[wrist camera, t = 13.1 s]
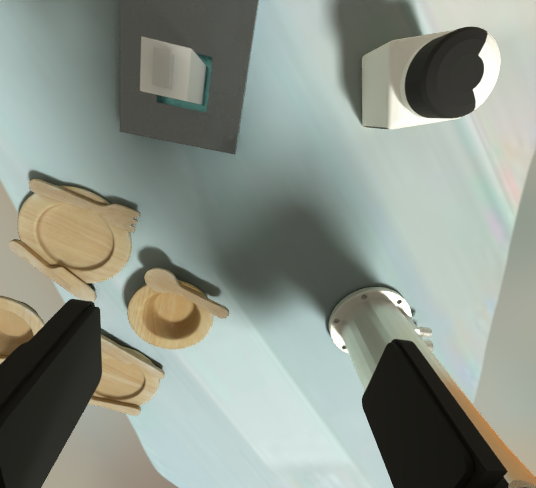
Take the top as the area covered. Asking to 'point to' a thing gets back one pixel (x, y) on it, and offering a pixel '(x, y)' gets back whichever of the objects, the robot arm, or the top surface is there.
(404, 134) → the top surface
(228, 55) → the panel
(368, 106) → the medicine bottle
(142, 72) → the plug
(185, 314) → the tableware set
